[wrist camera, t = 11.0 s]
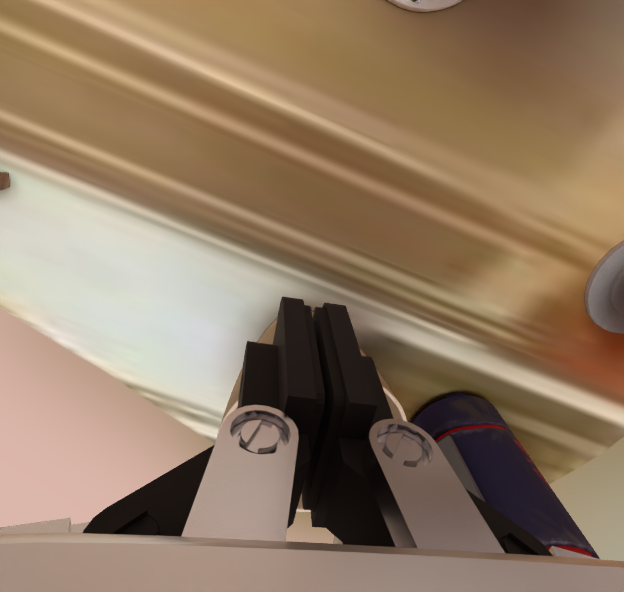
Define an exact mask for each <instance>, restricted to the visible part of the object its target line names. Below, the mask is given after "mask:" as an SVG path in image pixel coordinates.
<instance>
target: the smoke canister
mask: <svg viewBox="0 0 624 592" xmlns="http://www.w3.org/2000/svg"><path fill="white" fill-rule="evenodd" d="M446 397H447V398H444V399H442V400H440V401H437V402H435V403H433V404H432V405H430V406H429V407H427V408H426V409H424V410H423V411H422V412H421V413H420V414H419V415H418V416H417V417H416V418H415V420H414V421H413V423H412V422H411V423H412V424H414V425H416V426H418V427H420V428H421V429H423V430H424V431H425V432H426V433H428V434H429V435H430V436H431V437H432V438H433V440H434V441H435V442H436V443H437V445H438V446H439V448H440V450H441V451H442V453H443V454H444V456H445V458H446V459H447V461H448V462H449V464H450V466H451V467H452V469H453V470H454V472H455V474H456V475H457V477H458V478H459V480H460V482H461V483H462V485H463V486H464V488H465V489H467V490H468V491H470V492H471V493H472V494H474V495H475V496H477V497H478V498H480V499H481V500H483V501H484V502H485V503H487V504H488V505H490V506H491V507H493V508H494V509H496V510H497V511H498V512H500V513H501V514H503V515H504V516H506V517H507V518H509V519H510V520H511V521H513V522H514V523H516V524H517V525H519V526H520V527H522V528H523V529H524V530H526V531H527V532H529V533H530V534H532V535H533V536H534V537H535V538H536V539H538V540H539V541H540V542H541V543H543V544H544V546H545V547H546V548H547V549H548V550H550V548H551V547H552V546H555V547H558V548H562V549H565V550H569V551H572V552H576V553H580V554H583V555H587V556H590V557H594V558H597V559H599V557H598V555H597V554H596V552H595V551H594V549H593V548H592V547H591V545H590V544H589V543H588V541H587V540H586V538H585V536H584V535H583V534H582V532H581V531H580V529H579V528H578V527H577V525H576V523H575V522H574V521H573V519H572V518H571V516H570V515H569V513H568V512H567V511H566V509H565V508H564V506H563V505H562V503H561V502H560V500H559V499H558V498H557V496H556V495H555V493H554V492H553V490H552V489H551V488H550V486H549V485H548V483H547V482H546V480H545V479H544V477H543V476H542V474H541V473H540V472H539V470H538V469H537V467H536V466H535V464H534V463H533V462H532V460H531V459H530V457H529V456H528V454H527V453H526V451H525V450H524V449H523V447H522V446H521V444H520V443H519V441H518V440H517V439H516V438H515V436H514V434H513V433H512V431H511V430H510V429H509V427H508V426H507V424H506V423H505V421H504V420H503V419H502V417H501V416H500V414H499V413H498V411H497V410H496V409H495V408H494V406H493V405H492V404H491V403H489V402H488V401H486V400H484V399H482V398H479V397H476V396H468V395H465V393H464V392H457V393H451V394H447V395H446Z"/></svg>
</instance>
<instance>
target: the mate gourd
mask: <svg viewBox="0 0 624 592" xmlns="http://www.w3.org/2000/svg"><path fill="white" fill-rule="evenodd" d="M584 300H585V308H586V310H587V313H588V315H589V317H590V318H591V319H592V321H594V322H595V323H596V324H597V325H598V326H600V327H601V328H603V329H605V330H607V331H609V332H614V333H624V241H622V242H620V243H619V244H618V245H616V246H615V247H614V248H612V249H611V250H610V251H609V252H608V253H607V254H606V255H605V256H604V257H603V258H602V259H601V260H600V261H599V263H598V264H597V265H596V267H595V268H594V270H593V272H592V273H591V275H590V277H589V280H588V282H587V285H586V289H585V296H584Z"/></svg>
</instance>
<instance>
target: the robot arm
mask: <svg viewBox="0 0 624 592" xmlns="http://www.w3.org/2000/svg"><path fill="white" fill-rule="evenodd" d="M387 1H389V2H391V3H393V4H395V5H396V6H398V7H400V8H404V9H407V10H411V11H416V12H431V11H436V10H442V9H445V8H447V7H450V6H453V5H455V4H457V3H459V2H461V1H462V0H416V1H415V2H412V0H387ZM301 493H302V505H303V509H304V510H311V519H312V527H323V528H327V529H328V530H329V531H330V532H331V533H332V534H334V535H335V536H334V541H333V544H325V543H306V542H285V540H286V533H287V528H288V527H289V526H291V525H292V524H293V521H294V517H295V514H296V510H297V507H298V504H299V500H300V497H301ZM0 592H624V561H613V560H601V559H597V558H594V557H590V556H587V555H583V554H580V553H576V552H572V551H569V550H565V549H562V548H558V547H555V546H552V547H551V548H550V550H548V549H547V548H546V547H545V546H544V544H543V543H541V542H540V541H539V540H538V539H536V538H535V537H534V536H533V535H532V534H530V533H529V532H527V531H526V530H524V529H523V528H522V527H520V526H519V525H517V524H516V523H514V522H513V521H511V520H510V519H509V518H507V517H506V516H504V515H503V514H501V513H500V512H498V511H497V510H496V509H494V508H493V507H491V506H490V505H488V504H487V503H485V502H484V501H483V500H481V499H480V498H478V497H477V496H475V495H474V494H472V493H471V492H470V491H468V490H467V489H465V488H464V486H463V485H462V483H461V482H460V480H459V478H458V477H457V475H456V474H455V472H454V470H453V469H452V467H451V466H450V464H449V462H448V461H447V459H446V458H445V456H444V454H443V453H442V451H441V450H440V448H439V446H438V445H437V443H436V442H435V441H434V440H433V438H432V437H431V436H430V435H429V434H428V433H426V432H425V431H424V430H423V429H421V428H420V427H418V426H416V425H414V424H412V423H410V422H406V421H403V420H399V419H394V418H393V415H392V412H391V409H390V407H389V404H388V401H387V398H386V395H385V393H384V390H383V387H382V384H381V381H380V378H379V376H378V373H377V370H376V367H375V364H374V362H373V360H372V358H371V357H368V356H362V355H361V352H360V349H359V346H358V343H357V340H356V337H355V334H354V330H353V327H352V324H351V321H350V318H349V315H348V312H347V309H346V306H344V305H337V304H330V303H324V304H323V307H322V308H320V307H316V308H315V311H314V314H313V318H312V312H311V307H310V306H306V305H304V301H303V300H302V299H295V298H288V297H282V299H281V303H280V308H279V313H278V318H277V324H276V329H275V334H274V339H273V344H265V343H257V342H249V341H247V345H246V350H245V356H244V362H243V369H242V375H241V382H240V390H239V398H238V407H237V409H236V410H234V411H233V412H231V413H230V414H229V415H228V416H227V417H226V419H225V420H224V422H223V424H222V427H221V429H220V432H219V435H218V437H217V440H216V443H215V445H213V446H212V447H210V448H208V449H207V450H205V451H203V452H201V453H200V454H198V455H196V456H195V457H193V458H191V459H189V460H188V461H186V462H184V463H183V464H181V465H179V466H177V467H176V468H174V469H172V470H171V471H169V472H167V473H165V474H164V475H162V476H160V477H159V478H157V479H155V480H153V481H152V482H150V483H148V484H147V485H145V486H143V487H141V488H140V489H138V490H136V491H135V492H133V493H131V494H129V495H128V496H126V497H125V498H123V499H121V500H119V501H117V502H116V503H114V504H112V505H111V506H109V507H107V508H106V509H104V510H103V511H102V512H100V513H99V514H98V515H96V516H95V517H94V518H93V519H92V521H91V522H88V523H81V524H74V525H71V521H70V518H66V519H59V520H52V521H45V522H37V523H30V524H22V525H16V526H8V527H1V528H0Z"/></svg>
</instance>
